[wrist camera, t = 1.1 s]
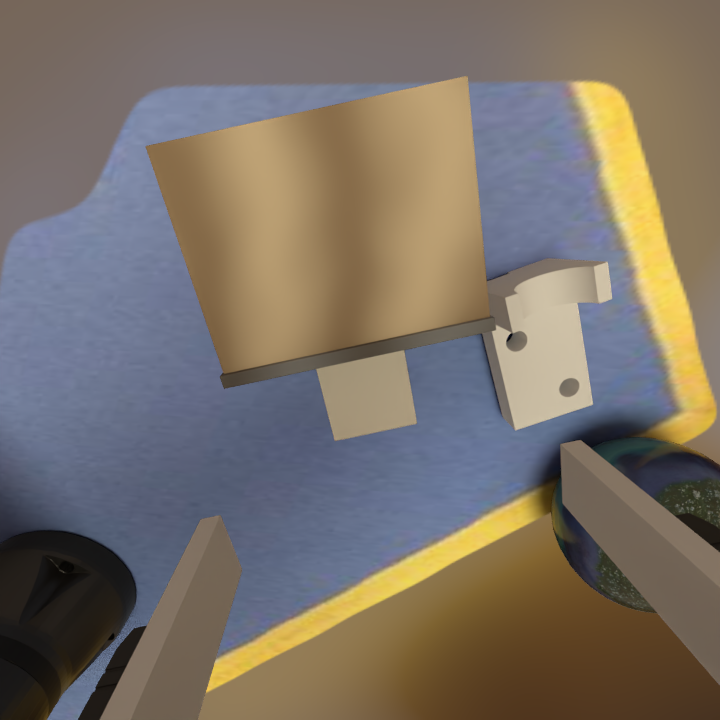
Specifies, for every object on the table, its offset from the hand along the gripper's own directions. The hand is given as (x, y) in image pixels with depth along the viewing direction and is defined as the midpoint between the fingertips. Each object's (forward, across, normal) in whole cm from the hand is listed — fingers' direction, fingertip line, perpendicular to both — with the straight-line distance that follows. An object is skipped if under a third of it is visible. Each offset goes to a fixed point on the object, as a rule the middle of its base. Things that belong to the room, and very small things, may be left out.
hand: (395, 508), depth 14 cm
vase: (+20, +22, -19) cm, 35 cm away
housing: (+20, 0, +10) cm, 22 cm away
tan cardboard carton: (+20, 0, +4) cm, 20 cm away
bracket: (+20, +14, -2) cm, 25 cm away
